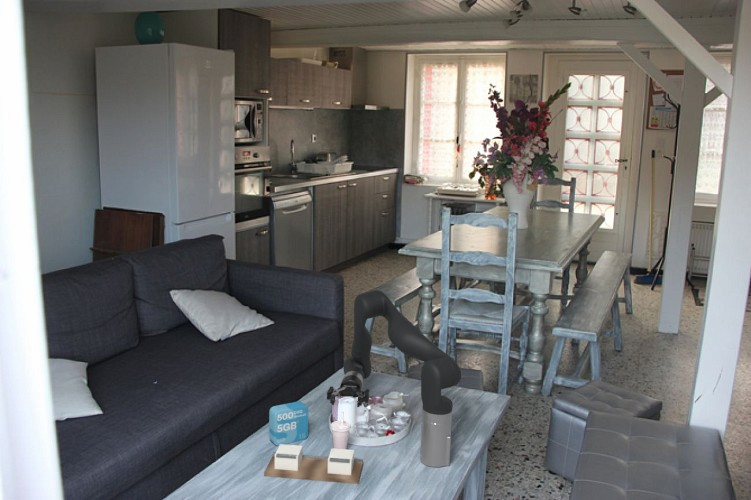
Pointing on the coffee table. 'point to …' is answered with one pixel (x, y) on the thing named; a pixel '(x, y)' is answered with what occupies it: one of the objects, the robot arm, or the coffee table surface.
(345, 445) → the smoothie
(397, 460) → the coffee table surface
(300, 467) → the rail board
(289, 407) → the data package
